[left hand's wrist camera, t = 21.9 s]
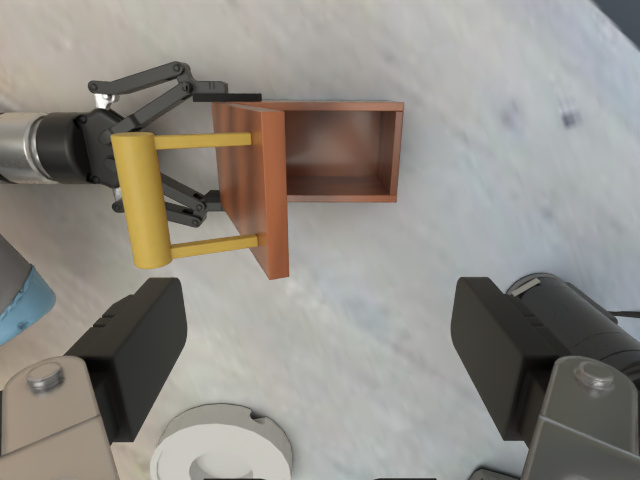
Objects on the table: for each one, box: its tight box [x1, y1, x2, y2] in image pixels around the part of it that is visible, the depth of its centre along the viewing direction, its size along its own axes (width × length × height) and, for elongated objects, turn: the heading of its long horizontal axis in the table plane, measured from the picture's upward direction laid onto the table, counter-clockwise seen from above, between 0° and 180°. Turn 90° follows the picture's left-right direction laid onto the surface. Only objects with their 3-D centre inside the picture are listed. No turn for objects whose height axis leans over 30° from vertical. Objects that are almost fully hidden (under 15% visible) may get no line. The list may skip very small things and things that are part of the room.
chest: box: [226, 100, 404, 202], centre depth 43 cm, size 18×10×10 cm, turn 90°
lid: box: [111, 102, 289, 280], centre depth 28 cm, size 18×10×9 cm
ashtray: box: [150, 404, 293, 480], centre depth 65 cm, size 23×23×4 cm
